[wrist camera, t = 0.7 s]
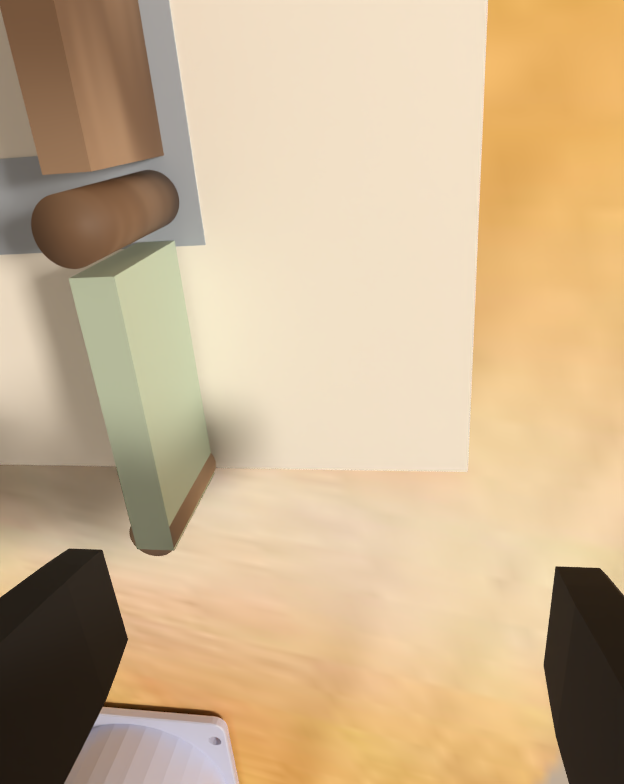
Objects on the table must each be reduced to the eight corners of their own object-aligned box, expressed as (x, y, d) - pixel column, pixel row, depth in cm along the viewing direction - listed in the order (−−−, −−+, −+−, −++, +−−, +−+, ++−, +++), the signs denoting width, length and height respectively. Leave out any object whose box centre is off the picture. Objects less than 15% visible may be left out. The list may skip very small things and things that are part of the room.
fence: (184, 225, 15) (109, 267, 11) (132, 228, 16) (42, 270, 12) (113, -205, 12) (-28, -354, 8) (48, -194, 12) (-121, -333, 8)
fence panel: (133, 242, 15) (64, 278, 12) (178, 240, 15) (118, 276, 12) (181, 478, 18) (134, 554, 15) (218, 478, 18) (179, 556, 15)
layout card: (466, 462, 18) (467, 472, 17) (-42, 456, 20) (-52, 464, 20) (496, -290, 11) (501, -308, 10) (-272, -149, 14) (-297, -159, 13)
